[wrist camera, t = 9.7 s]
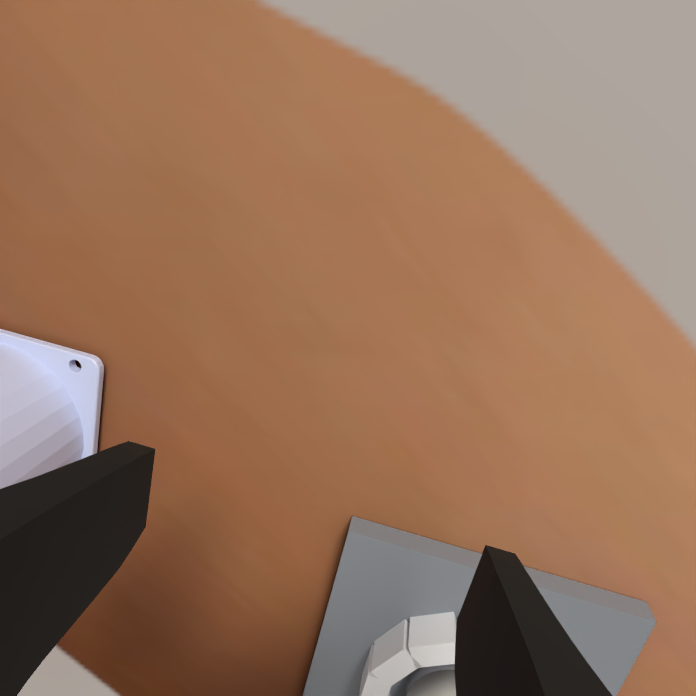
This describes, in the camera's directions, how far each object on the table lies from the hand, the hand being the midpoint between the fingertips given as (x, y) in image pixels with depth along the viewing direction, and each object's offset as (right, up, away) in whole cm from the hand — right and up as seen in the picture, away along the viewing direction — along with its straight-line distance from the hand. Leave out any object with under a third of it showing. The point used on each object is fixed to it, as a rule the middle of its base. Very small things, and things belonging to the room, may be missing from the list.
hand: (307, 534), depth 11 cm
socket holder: (+5, -10, +12) cm, 17 cm away
